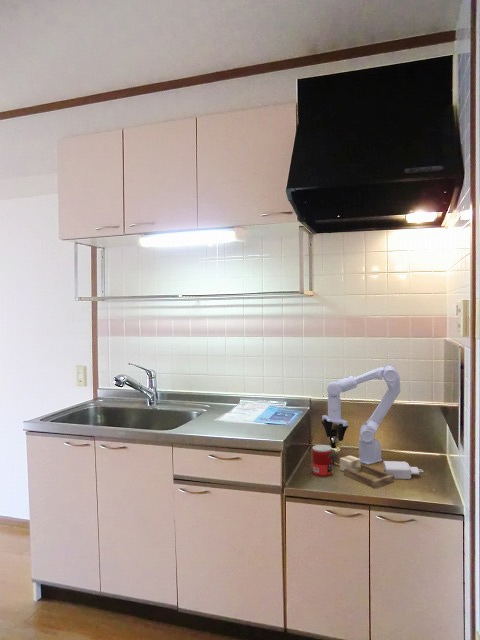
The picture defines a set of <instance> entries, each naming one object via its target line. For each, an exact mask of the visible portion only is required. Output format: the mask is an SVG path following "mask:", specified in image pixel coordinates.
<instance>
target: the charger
mask: <svg viewBox="0 0 480 640" xmlns="http://www.w3.org/2000/svg"><path fill="white" fill-rule="evenodd" d="M382 461H383V464H382V465H383V472H386V473H388V474H391V475H394V480H410V479H411V478H412V475H416V476H417V475H420V473H424V470H423V469H419V468H418V467H417V466H410V464H409V463H408V462H406V461H396V460H382Z"/></svg>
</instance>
